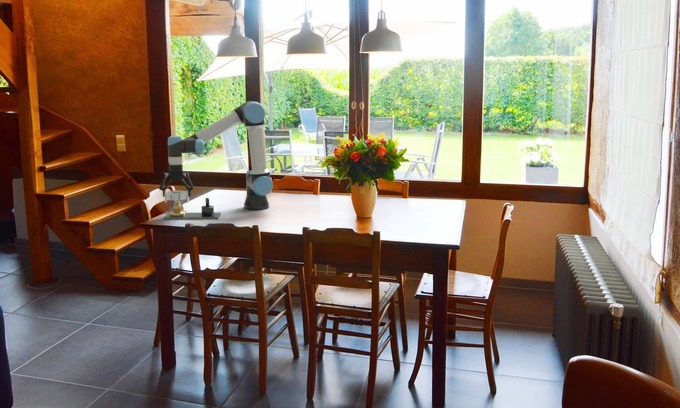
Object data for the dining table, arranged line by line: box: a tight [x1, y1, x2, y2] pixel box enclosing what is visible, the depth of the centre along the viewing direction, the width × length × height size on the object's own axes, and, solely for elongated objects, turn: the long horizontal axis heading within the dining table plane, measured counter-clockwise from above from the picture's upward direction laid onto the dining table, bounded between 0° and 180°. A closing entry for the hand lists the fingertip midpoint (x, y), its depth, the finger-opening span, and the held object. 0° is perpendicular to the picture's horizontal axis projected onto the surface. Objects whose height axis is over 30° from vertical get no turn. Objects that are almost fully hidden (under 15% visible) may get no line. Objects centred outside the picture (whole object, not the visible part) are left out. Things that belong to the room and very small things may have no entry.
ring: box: [166, 190, 187, 201], centre depth 380 cm, size 12×12×4 cm
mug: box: [169, 200, 185, 211], centre depth 401 cm, size 12×9×11 cm
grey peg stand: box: [163, 197, 222, 221], centre depth 382 cm, size 30×13×11 cm, turn 94°
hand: (177, 202), depth 381 cm, fingers closed on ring, 11 cm apart
